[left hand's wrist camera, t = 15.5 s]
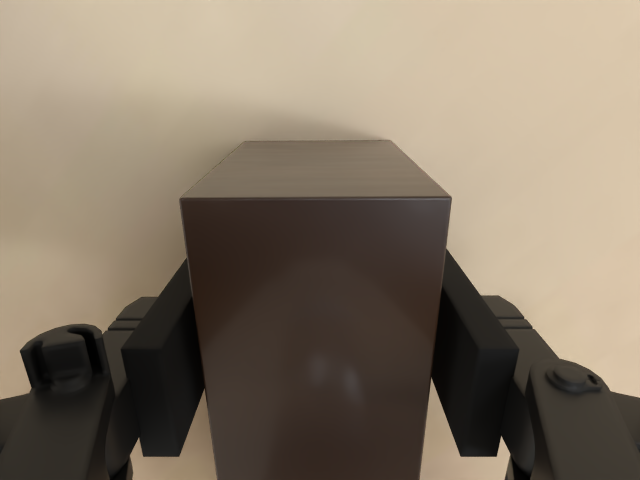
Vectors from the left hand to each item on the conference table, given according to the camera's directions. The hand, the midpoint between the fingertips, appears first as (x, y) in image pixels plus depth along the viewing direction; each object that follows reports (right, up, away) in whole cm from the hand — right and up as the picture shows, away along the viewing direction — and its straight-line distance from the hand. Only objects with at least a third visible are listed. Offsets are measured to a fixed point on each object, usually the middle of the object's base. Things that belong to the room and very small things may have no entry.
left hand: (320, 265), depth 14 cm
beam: (0, -9, +5) cm, 10 cm away
